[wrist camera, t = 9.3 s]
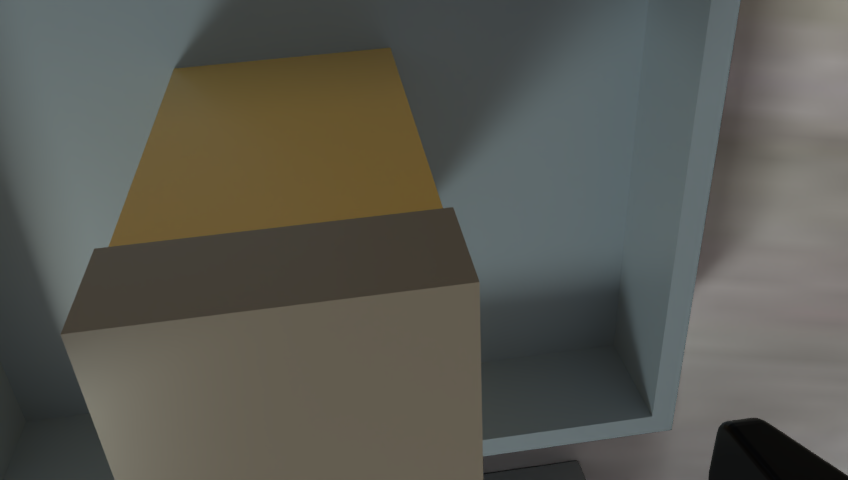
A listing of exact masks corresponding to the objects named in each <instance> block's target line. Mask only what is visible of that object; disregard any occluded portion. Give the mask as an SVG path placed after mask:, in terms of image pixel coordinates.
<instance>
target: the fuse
mask: <svg viewBox="0 0 848 480" xmlns="http://www.w3.org/2000/svg"><path fill="white" fill-rule="evenodd" d="M60 335H61V337H62V340H63V343H64V345H65V348H66V351H67V353H68V356H69V359H70V361H71V364H72V367H73V369H74V372H75V375H76V377H77V380H78V383H79V386H80V388H81V391H82V394H83V396H84V399H85V402H86V404H87V407H88V410H89V412H90V415H91V418H92V420H93V423H94V426H95V428H96V431H97V434H98V436H99V439H100V442H101V445H102V447H103V450H104V453H105V455H106V458H107V461H108V463H109V466H110V469H111V471H112V474H113V477H114V479H115V480H483V436H482V383H481V331H480V282H479V279H478V276H477V273H476V271H475V268H474V265H473V262H472V259H471V256H470V253H469V251H468V248H467V245H466V242H465V239H464V236H463V234H462V231H461V228H460V225H459V222H458V219H457V216H456V214H455V211H454V208H453V207H450V208H443V207H442V204H441V201H440V197H439V194H438V191H437V188H436V185H435V182H434V179H433V176H432V173H431V170H430V167H429V164H428V161H427V158H426V155H425V152H424V149H423V146H422V143H421V140H420V137H419V134H418V130H417V127H416V124H415V121H414V118H413V115H412V112H411V109H410V106H409V103H408V100H407V97H406V94H405V91H404V88H403V85H402V82H401V79H400V76H399V73H398V70H397V66H396V63H395V60H394V57H393V54H392V51H391V48H381V49H371V50H361V51H350V52H340V53H329V54H319V55H309V56H298V57H288V58H278V59H267V60H257V61H247V62H236V63H226V64H216V65H205V66H195V67H185V68H174V70H173V72H172V75H171V78H170V81H169V83H168V86H167V89H166V91H165V94H164V97H163V100H162V102H161V105H160V108H159V110H158V113H157V116H156V119H155V121H154V124H153V127H152V129H151V132H150V135H149V138H148V140H147V143H146V146H145V149H144V151H143V154H142V157H141V159H140V162H139V165H138V168H137V170H136V173H135V176H134V178H133V181H132V184H131V187H130V189H129V192H128V195H127V198H126V200H125V203H124V206H123V208H122V211H121V214H120V217H119V219H118V222H117V225H116V227H115V230H114V233H113V236H112V238H111V241H110V244H109V246H108V247H104V248H95V249H94V251H93V253H92V256H91V258H90V261H89V263H88V266H87V268H86V271H85V273H84V276H83V278H82V281H81V284H80V286H79V289H78V291H77V294H76V296H75V299H74V301H73V304H72V306H71V309H70V311H69V314H68V316H67V319H66V322H65V324H64V327H63V329H62V332H61V334H60Z"/></svg>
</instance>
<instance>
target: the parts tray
mask: <svg viewBox="0 0 848 480" xmlns="http://www.w3.org/2000/svg"><path fill="white" fill-rule="evenodd" d="M740 1H741V0H0V480H115V479H114V477H113V474H112V471H111V469H110V466H109V463H108V461H107V458H106V455H105V453H104V450H103V447H102V445H101V442H100V439H99V436H98V434H97V431H96V428H95V426H94V423H93V420H92V418H91V415H90V412H89V410H88V407H87V404H86V402H85V399H84V396H83V394H82V391H81V388H80V386H79V383H78V380H77V377H76V375H75V372H74V369H73V367H72V364H71V361H70V359H69V356H68V353H67V351H66V348H65V345H64V343H63V340H62V337H61V335H60V334H61V332H62V329H63V327H64V324H65V322H66V319H67V316H68V314H69V311H70V309H71V306H72V304H73V301H74V299H75V296H76V294H77V291H78V289H79V286H80V284H81V281H82V278H83V276H84V273H85V271H86V268H87V266H88V263H89V261H90V258H91V256H92V253H93V251H94V249H95V248H104V247H108V246H109V244H110V241H111V238H112V236H113V233H114V230H115V227H116V225H117V222H118V219H119V217H120V214H121V211H122V208H123V206H124V203H125V200H126V198H127V195H128V192H129V189H130V187H131V184H132V181H133V178H134V176H135V173H136V170H137V168H138V165H139V162H140V159H141V157H142V154H143V151H144V149H145V146H146V143H147V140H148V138H149V135H150V132H151V129H152V127H153V124H154V121H155V119H156V116H157V113H158V110H159V108H160V105H161V102H162V100H163V97H164V94H165V91H166V89H167V86H168V83H169V81H170V78H171V75H172V72H173V70H174V68H185V67H195V66H205V65H216V64H226V63H236V62H247V61H257V60H267V59H278V58H288V57H298V56H309V55H319V54H329V53H340V52H350V51H361V50H371V49H381V48H391V51H392V54H393V57H394V60H395V63H396V66H397V70H398V73H399V76H400V79H401V82H402V85H403V88H404V91H405V94H406V97H407V100H408V103H409V106H410V109H411V112H412V115H413V118H414V121H415V124H416V127H417V130H418V134H419V137H420V140H421V143H422V146H423V149H424V152H425V155H426V158H427V161H428V164H429V167H430V170H431V173H432V176H433V179H434V182H435V185H436V188H437V191H438V194H439V197H440V201H441V204H442V207H443V208H450V207H453V208H454V211H455V214H456V216H457V219H458V222H459V225H460V228H461V231H462V234H463V236H464V239H465V242H466V245H467V248H468V251H469V253H470V256H471V259H472V262H473V265H474V268H475V271H476V273H477V276H478V279H479V282H480V331H481V383H482V436H483V456H490V455H497V454H504V453H511V452H518V451H525V450H533V449H540V448H547V447H554V446H561V445H568V444H575V443H582V442H589V441H596V440H603V439H610V438H618V437H625V436H632V435H639V434H646V433H653V432H660V431H667V430H672V424H673V418H674V411H675V405H676V399H677V393H678V387H679V380H680V374H681V368H682V362H683V355H684V349H685V343H686V337H687V331H688V324H689V318H690V312H691V306H692V299H693V293H694V287H695V281H696V275H697V268H698V262H699V256H700V250H701V243H702V237H703V231H704V225H705V219H706V212H707V206H708V200H709V194H710V187H711V181H712V175H713V169H714V163H715V156H716V150H717V144H718V138H719V131H720V125H721V119H722V113H723V107H724V100H725V94H726V88H727V82H728V76H729V69H730V63H731V57H732V51H733V44H734V38H735V32H736V26H737V20H738V13H739V7H740Z"/></svg>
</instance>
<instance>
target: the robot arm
mask: <svg viewBox="0 0 848 480" xmlns="http://www.w3.org/2000/svg"><path fill="white" fill-rule="evenodd" d="M709 480H848V476H847V475H846V474H844V473H843V472H841V471H840V470H838V469H837V468H835V467H834V466H832V465H831V464H829V463H828V462H826V461H825V460H823V459H822V458H820V457H819V456H817V455H816V454H814V453H813V452H811V451H810V450H808V449H807V448H805V447H804V446H802V445H801V444H799V443H798V442H796V441H795V440H793V439H792V438H790V437H789V436H787V435H786V434H784V433H783V432H781V431H780V430H778V429H777V428H775V427H774V426H772V425H770V424H769V423H767V422H766V421H764V420H761V419H759V418H747V419H740V420H733V421H727V422H724V423H722V424H721V426H720V427H719V429H718V432H717V436H716V441H715V445H714V450H713V455H712V460H711V465H710V470H709Z"/></svg>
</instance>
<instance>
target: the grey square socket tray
mask: <svg viewBox="0 0 848 480" xmlns="http://www.w3.org/2000/svg"><path fill="white" fill-rule="evenodd" d="M483 480H586V479H585V477H584V474H583V472H582V469H581V467H580V464H579V462H578V461H573V462H566V463H559V464H552V465H545V466H538V467H531V468H524V469H517V470H510V471H503V472H497V473H490V474H483Z"/></svg>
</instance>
